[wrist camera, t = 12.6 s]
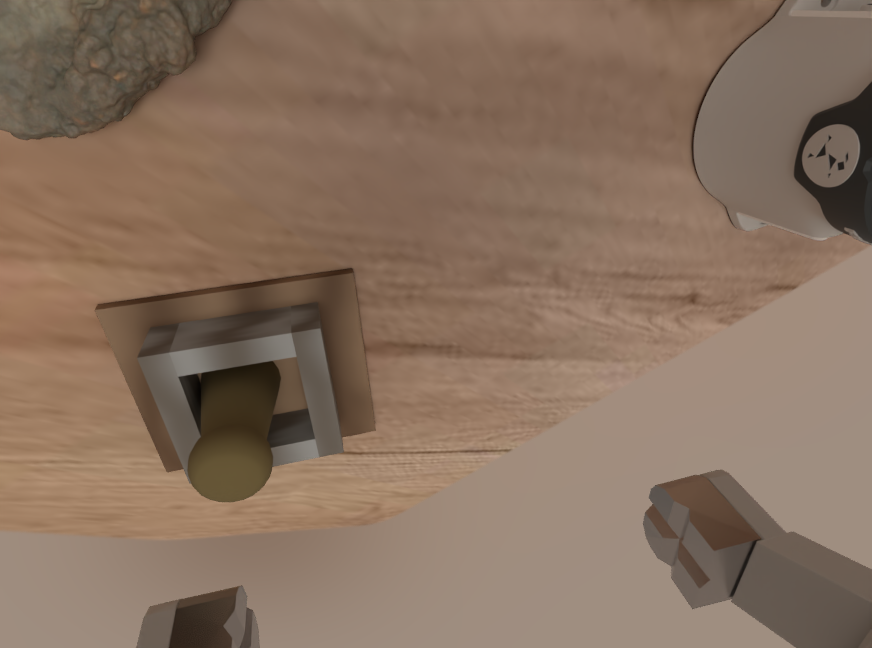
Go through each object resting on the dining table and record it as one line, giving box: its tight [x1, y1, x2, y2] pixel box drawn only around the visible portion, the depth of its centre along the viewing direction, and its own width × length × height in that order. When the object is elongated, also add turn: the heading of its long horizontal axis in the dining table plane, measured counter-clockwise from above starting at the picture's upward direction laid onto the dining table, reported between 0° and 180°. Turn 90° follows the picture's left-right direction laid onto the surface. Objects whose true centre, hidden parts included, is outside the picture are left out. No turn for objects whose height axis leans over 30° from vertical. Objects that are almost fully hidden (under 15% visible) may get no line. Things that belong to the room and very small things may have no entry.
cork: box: [187, 361, 281, 502], centre depth 37 cm, size 6×6×11 cm
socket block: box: [95, 269, 376, 484], centre depth 41 cm, size 18×16×5 cm
